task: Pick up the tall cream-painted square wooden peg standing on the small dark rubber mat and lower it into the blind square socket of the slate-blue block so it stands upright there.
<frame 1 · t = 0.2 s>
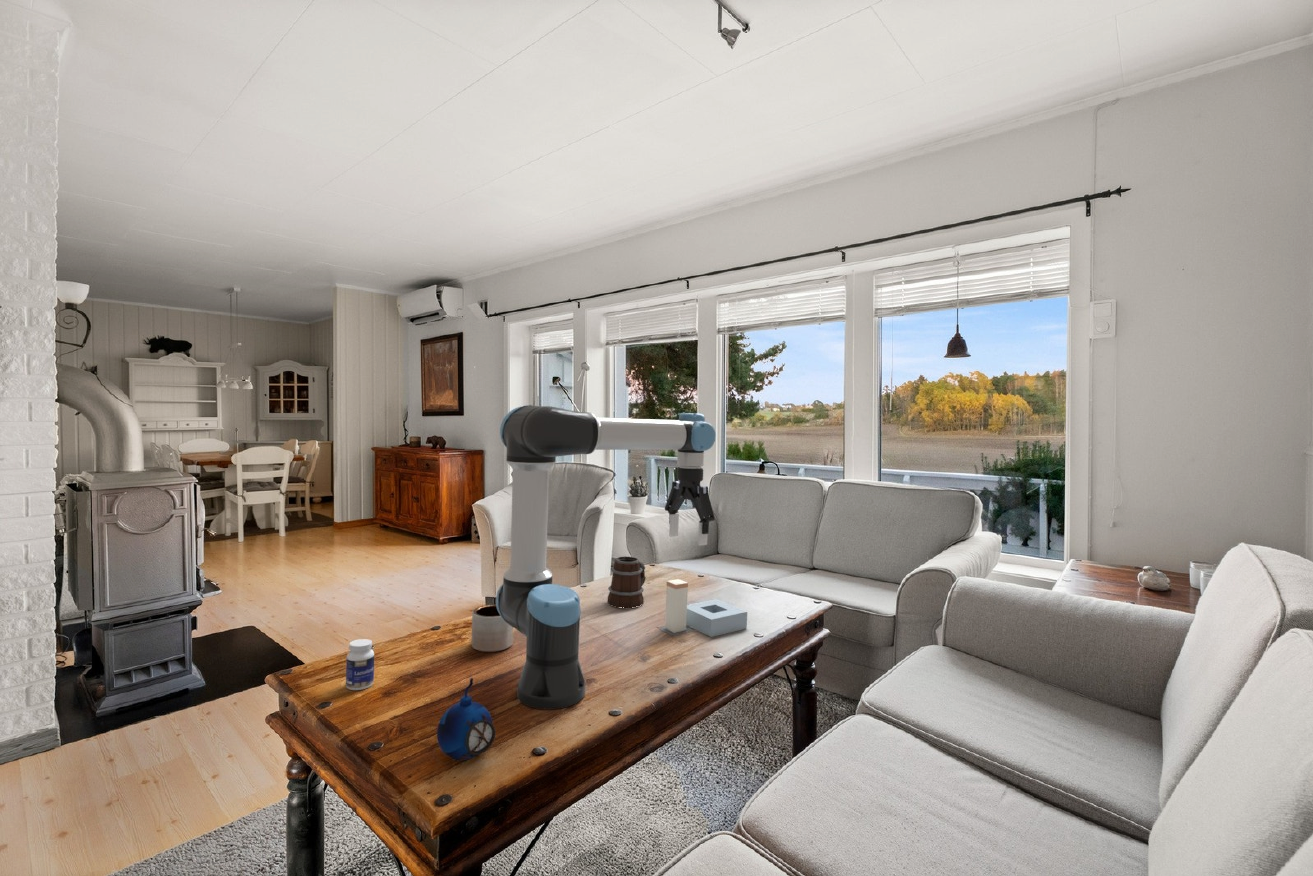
hand: (687, 540, 178), 28 cm above the table, fingers open, 13 cm apart
socket block: (713, 628, 186), on the table
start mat: (675, 632, 181), on the table
mug: (629, 602, 209), on the table
planter: (492, 646, 166), on the table
bomb: (466, 758, 113), on the table
peg: (675, 629, 181), point 1 cm above the table, touching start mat
pill bottle: (359, 686, 140), on the table
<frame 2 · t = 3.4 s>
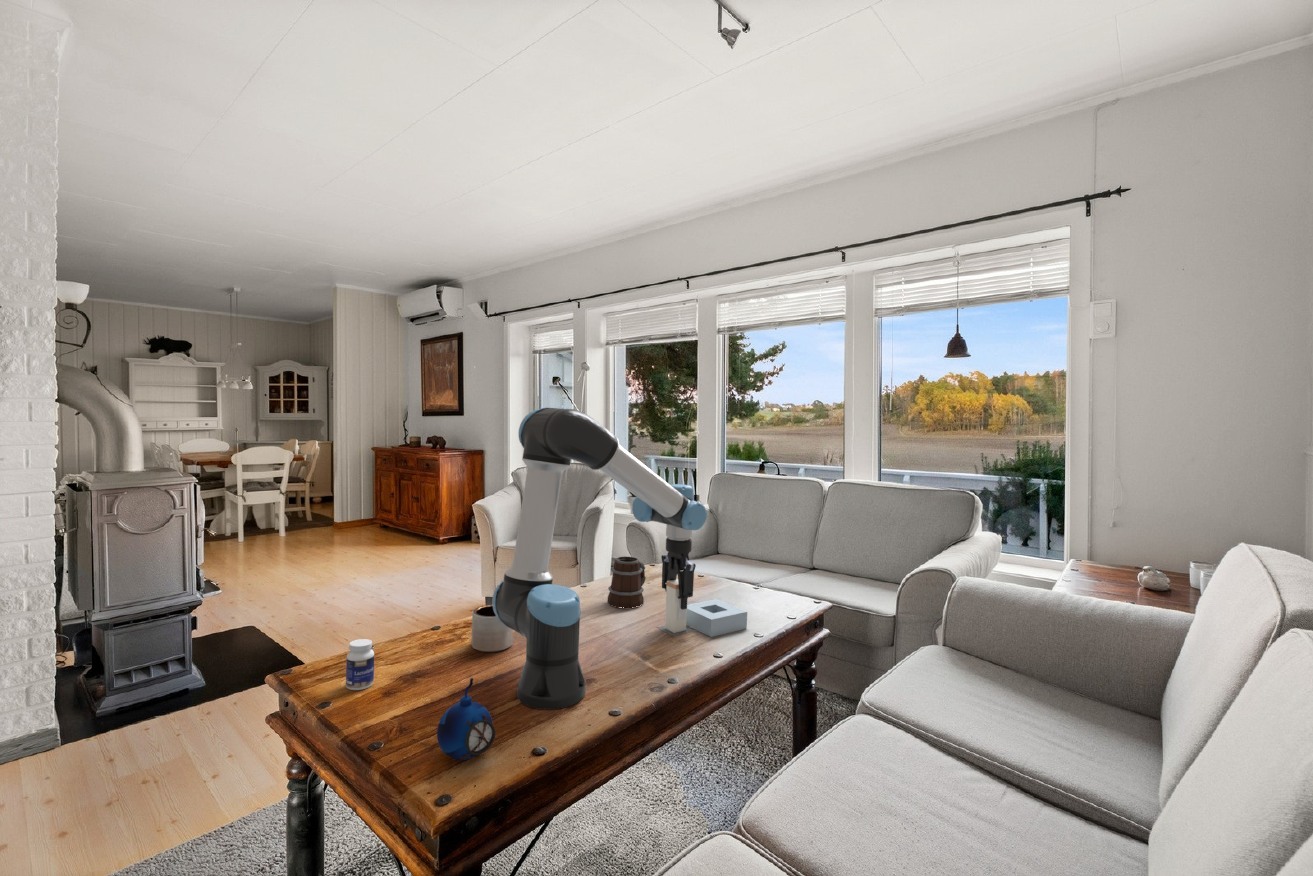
hand: (675, 616, 181), 5 cm above the table, fingers closed on peg, 4 cm apart
peg: (675, 629, 181), point 1 cm above the table, touching gripper, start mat
everything else where it was.
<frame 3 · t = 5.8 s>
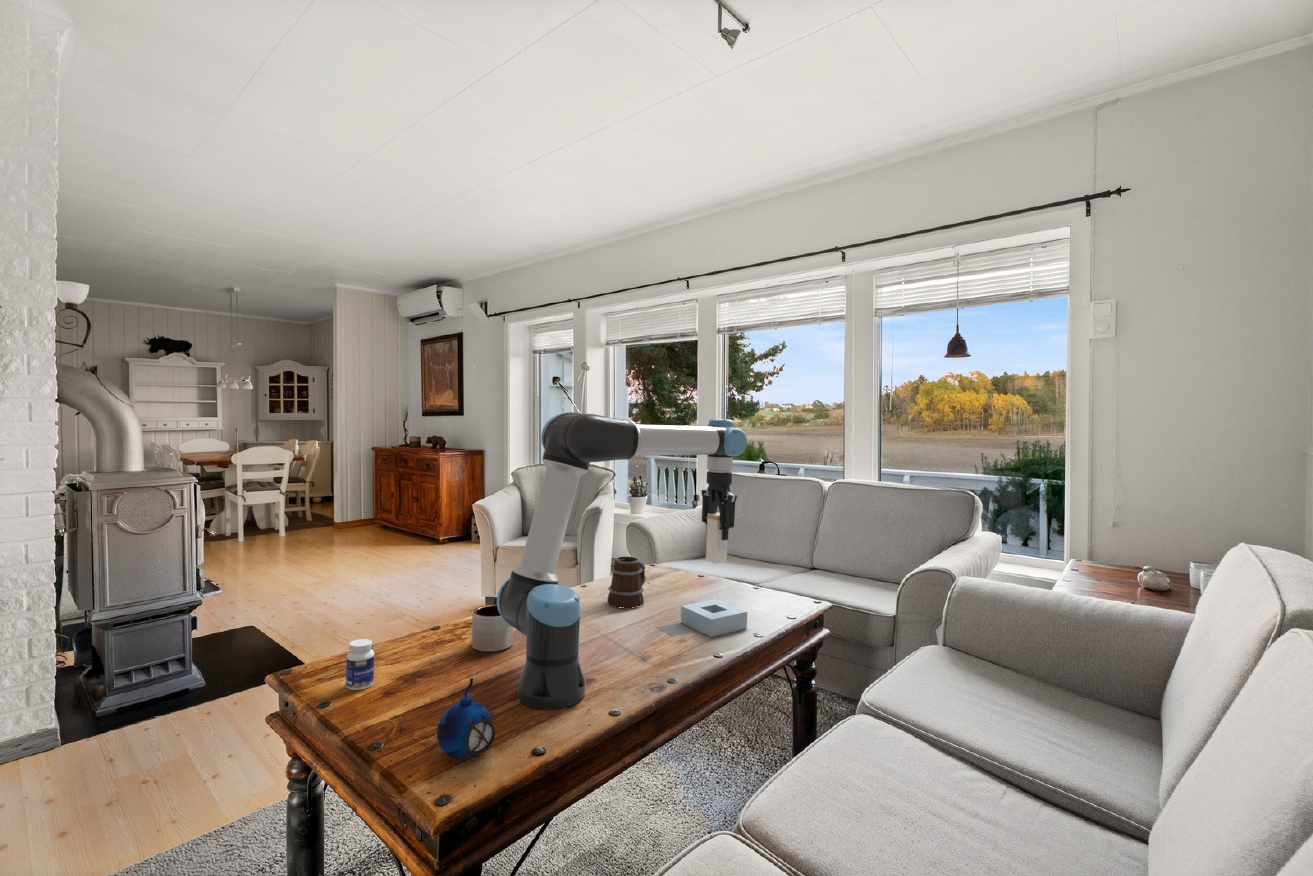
hand: (716, 548, 185), 24 cm above the table, fingers closed on peg, 4 cm apart
peg: (716, 560, 185), point 21 cm above the table, touching gripper
everything else where it was.
when the fingers open (8 cm above the table, at t = 8.7 s): peg drops 1 cm, resting on socket block.
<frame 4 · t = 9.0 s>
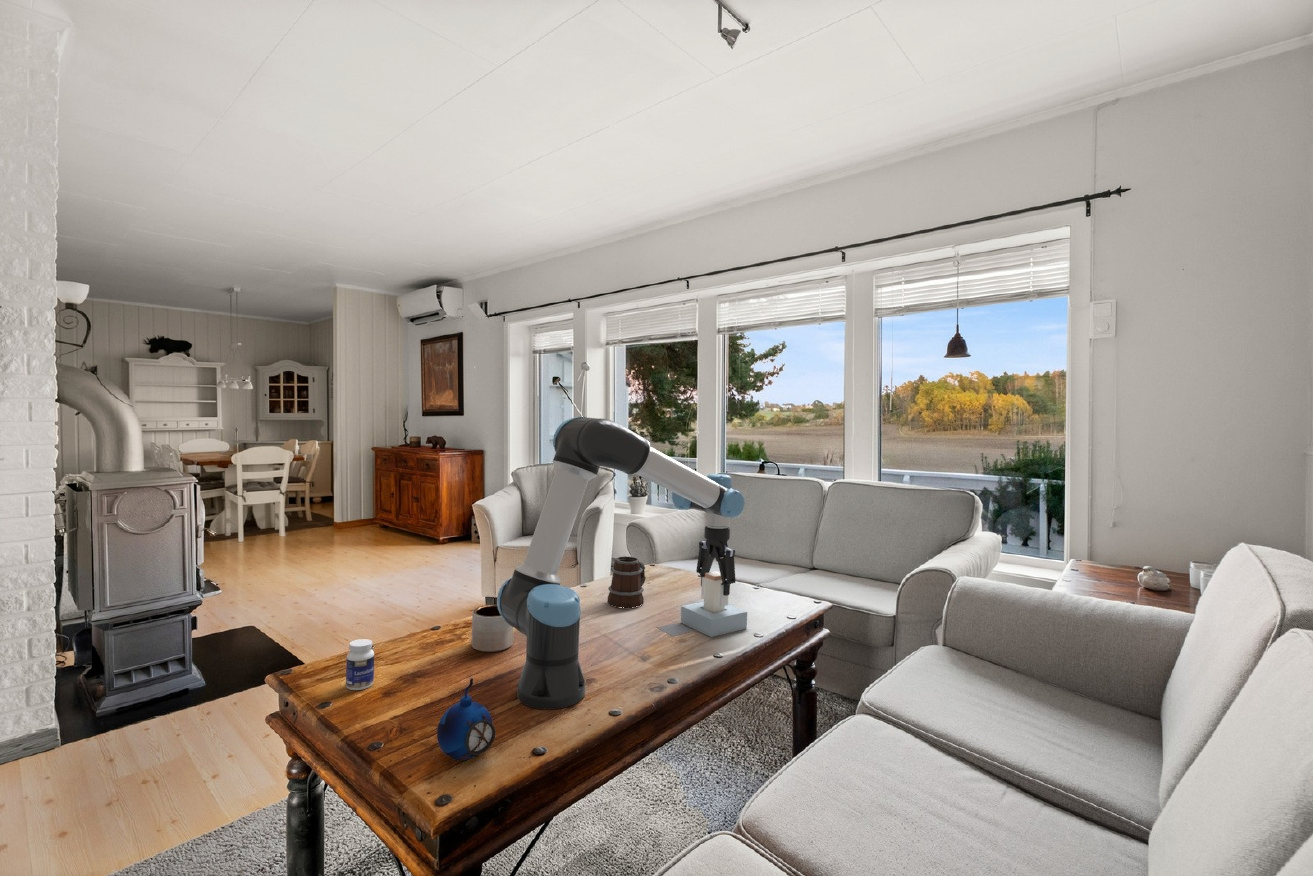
hand: (714, 601, 185), 8 cm above the table, fingers open, 8 cm apart
peg: (713, 620, 185), point 3 cm above the table, touching socket block
everything else where it was.
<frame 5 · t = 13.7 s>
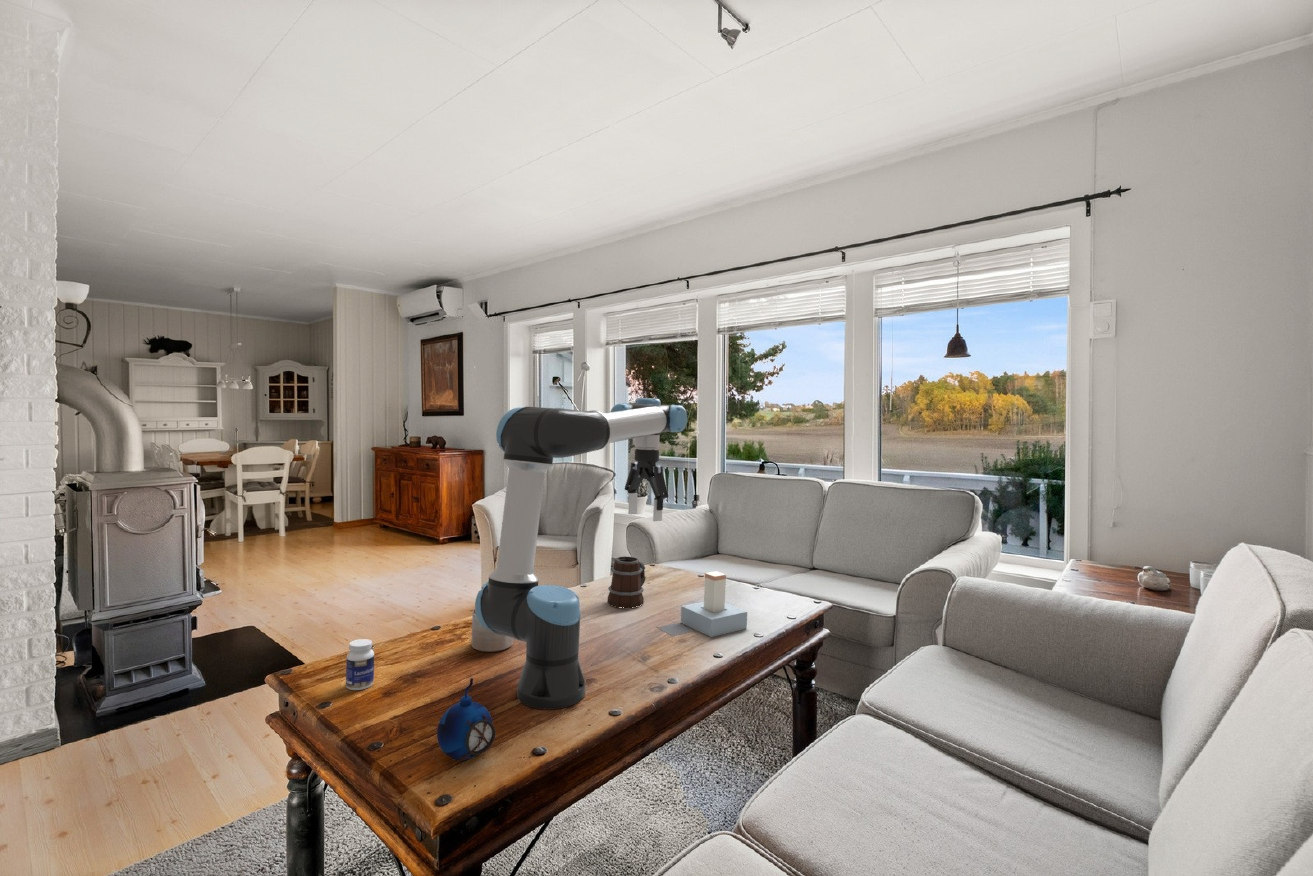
hand: (644, 517, 191), 32 cm above the table, fingers open, 13 cm apart
nothing on the table moved.
at the end: peg 0.0 cm off-centre on the socket block, point 2.6 cm above the socket block's base; peg tilted 0°; the gripper is holding nothing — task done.
